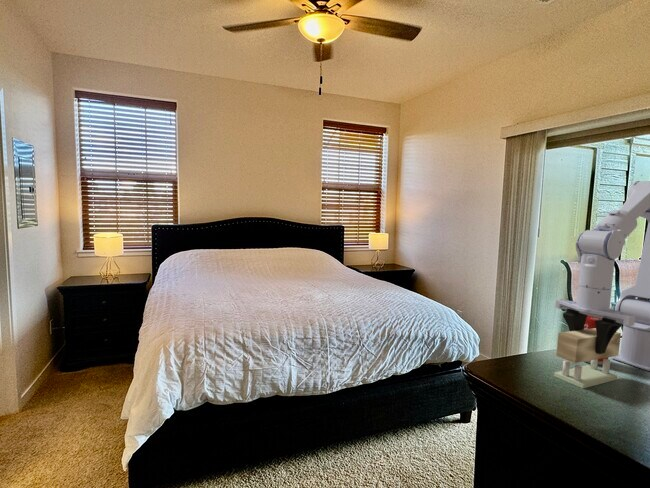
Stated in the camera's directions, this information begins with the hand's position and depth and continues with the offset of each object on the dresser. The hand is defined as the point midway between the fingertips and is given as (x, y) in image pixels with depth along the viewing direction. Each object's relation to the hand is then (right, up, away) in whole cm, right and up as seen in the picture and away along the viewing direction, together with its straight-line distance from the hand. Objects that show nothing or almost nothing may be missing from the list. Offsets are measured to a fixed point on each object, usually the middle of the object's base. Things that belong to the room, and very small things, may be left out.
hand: (588, 349), depth 78 cm
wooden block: (0, -2, 0) cm, 2 cm away
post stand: (0, -6, +1) cm, 6 cm away
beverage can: (+8, -6, +10) cm, 15 cm away
